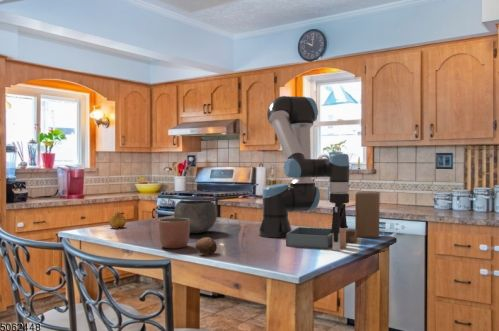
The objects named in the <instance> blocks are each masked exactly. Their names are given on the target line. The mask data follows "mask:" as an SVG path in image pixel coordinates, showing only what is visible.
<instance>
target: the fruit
mask: <svg viewBox="0 0 499 331" xmlns="http://www.w3.org/2000/svg"><path fill="white" fill-rule="evenodd" d="M108 222H109V226H110V227H111V228H112V227H113V229H120V228H119V227H122V228H123V227H125V226H126V223H127V220H126V216H124V215H123V214H122V213H121V212H115V213H114V214H112V215H111V216H110V218H109V221H108Z"/></svg>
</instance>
